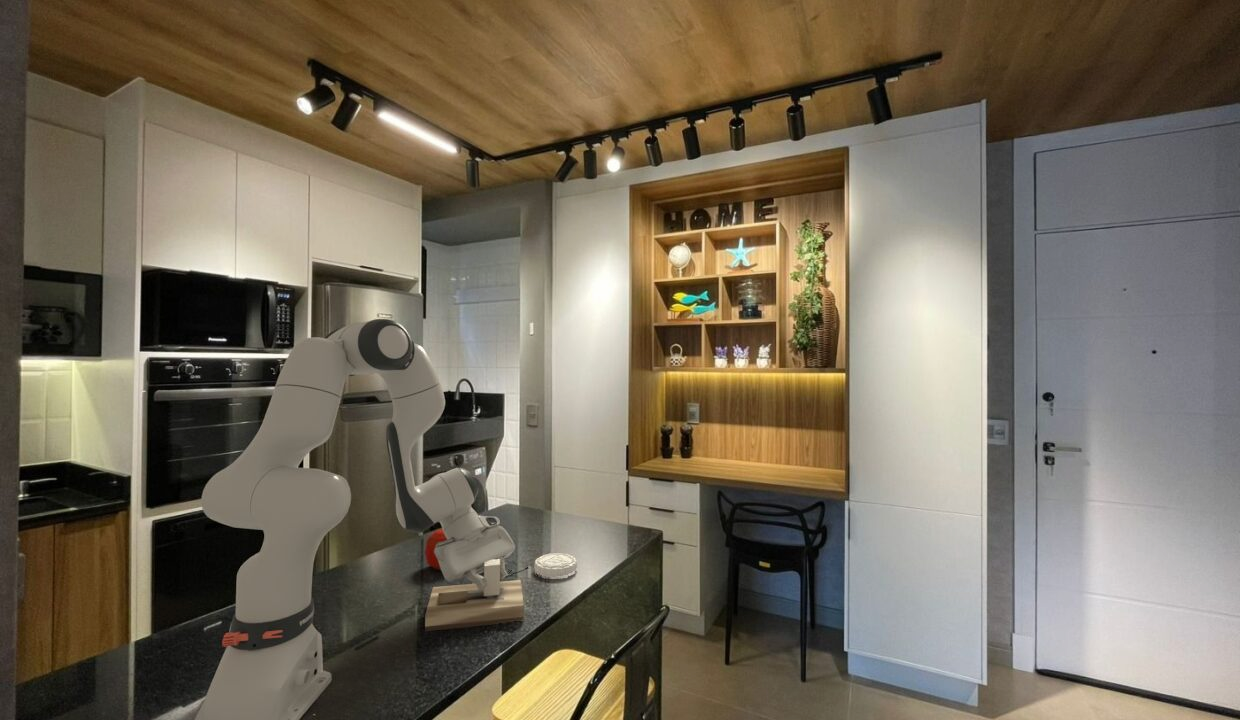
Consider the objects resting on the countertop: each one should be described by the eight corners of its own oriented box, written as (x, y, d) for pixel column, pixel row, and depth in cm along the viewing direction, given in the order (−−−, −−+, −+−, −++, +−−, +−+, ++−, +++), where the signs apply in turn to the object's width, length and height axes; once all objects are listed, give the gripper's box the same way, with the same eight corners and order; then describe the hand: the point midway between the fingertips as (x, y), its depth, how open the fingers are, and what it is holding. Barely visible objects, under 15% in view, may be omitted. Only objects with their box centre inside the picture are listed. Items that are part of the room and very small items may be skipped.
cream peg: (502, 609, 117) (502, 565, 118) (480, 611, 116) (481, 567, 116) (501, 600, 122) (502, 557, 122) (481, 601, 121) (482, 559, 121)
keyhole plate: (523, 621, 114) (523, 605, 114) (424, 631, 109) (425, 614, 109) (520, 594, 128) (520, 579, 128) (432, 602, 123) (433, 587, 123)
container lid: (558, 584, 135) (558, 570, 135) (525, 574, 141) (525, 561, 141) (585, 569, 145) (585, 557, 145) (553, 560, 151) (553, 548, 151)
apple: (443, 558, 151) (444, 519, 151) (469, 564, 146) (470, 524, 147) (416, 570, 142) (417, 528, 142) (443, 577, 137) (444, 534, 138)
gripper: (437, 537, 114) (466, 591, 109) (502, 515, 132) (530, 561, 126) (424, 553, 116) (452, 606, 111) (489, 529, 134) (516, 575, 129)
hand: (494, 582), depth 119 cm, fingers open, 5 cm apart
